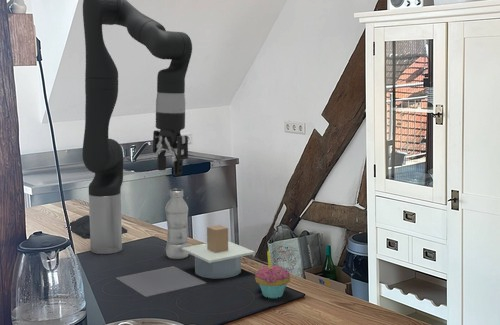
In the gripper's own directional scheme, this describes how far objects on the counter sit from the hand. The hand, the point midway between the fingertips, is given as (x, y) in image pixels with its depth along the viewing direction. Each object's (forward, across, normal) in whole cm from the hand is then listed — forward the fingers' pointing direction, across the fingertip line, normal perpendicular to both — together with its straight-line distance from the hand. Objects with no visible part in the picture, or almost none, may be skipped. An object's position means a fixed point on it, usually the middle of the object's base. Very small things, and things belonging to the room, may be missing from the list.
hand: (169, 172), depth 170 cm
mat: (+27, -7, +6) cm, 28 cm away
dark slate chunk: (+29, +54, -3) cm, 62 cm away
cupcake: (+26, -30, -12) cm, 42 cm away
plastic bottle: (+27, +9, -8) cm, 30 cm away
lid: (+21, -9, -10) cm, 24 cm away
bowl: (+27, -9, -10) cm, 30 cm away
